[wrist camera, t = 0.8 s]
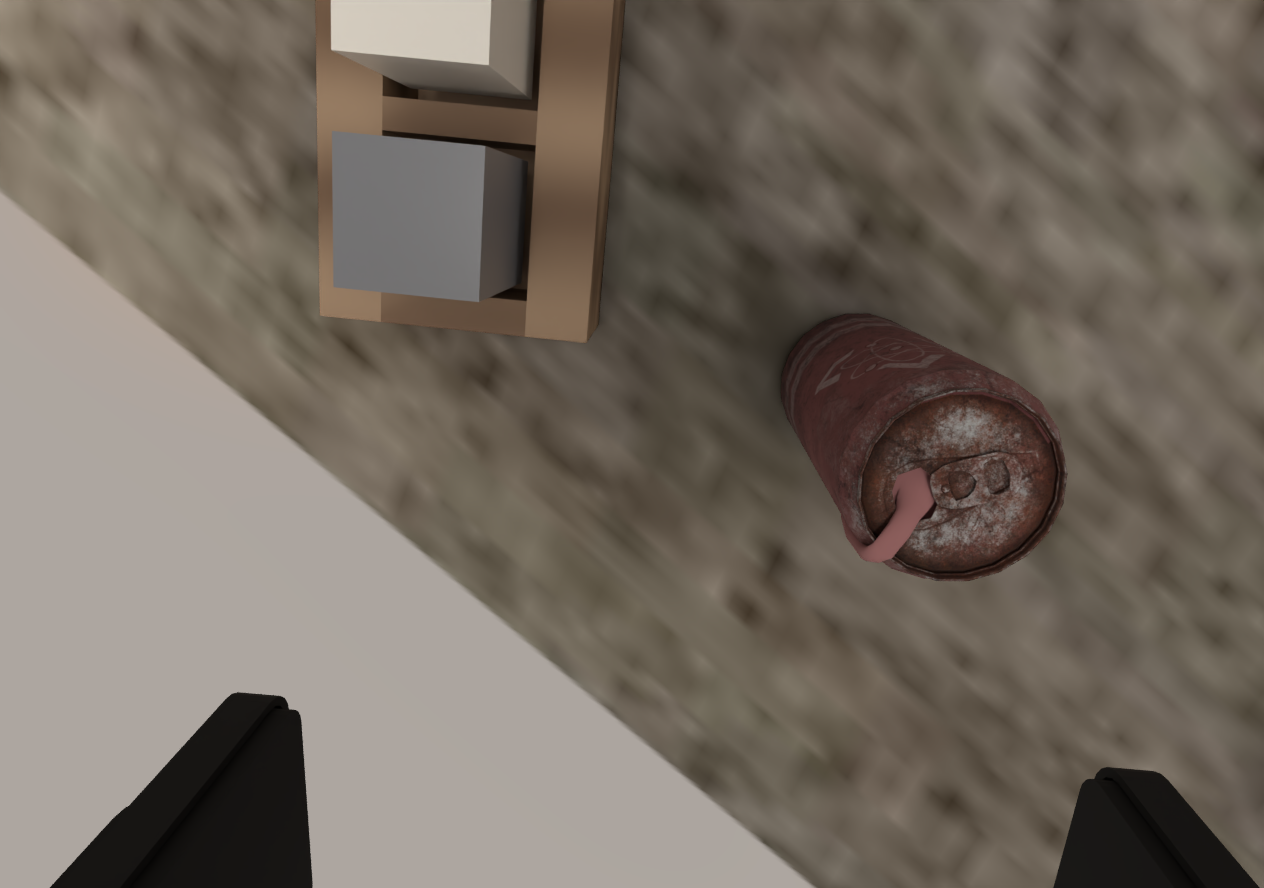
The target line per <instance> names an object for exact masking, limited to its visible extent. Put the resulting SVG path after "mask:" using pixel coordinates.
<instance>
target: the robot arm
mask: <svg viewBox="0 0 1264 888" xmlns="http://www.w3.org/2000/svg"><path fill="white" fill-rule="evenodd" d="M304 769H305V768H304V754H303V740H302V725H301V717H300V714H299V712H298V711H296V710H289V708H288V703H287V701H286V699H285V698H283V697H281V696H274V695H262V694H249V693H238V692H237V693H234V694H231V695H230V696H229V697H228V698H227V699H225V701H224V702H223V703H222V704H221V705H220V706H219V707H218V708H217V710H216V711H215V712H214V713H213V714H212V715H211V716H210V717H209V718H208V719H207V721H206V722H205V723H204V724H203V725H202V726H201V727H200V728H199V729H198V730H197V731H196V733H195V734H194V735H193V736H192V737H191V738H190V740H188V741H187V742H186V744H185V745H184V746H183V747H182V748H181V749H180V750H179V751H178V752H177V753H176V755H175V756H174V757H173V758H172V759H171V760H170V761H169V762H168V764H167V765H166V766H165V767H164V768H163V769H162V770H161V771H160V772H159V773H158V775H157V776H156V777H155V778H154V779H153V780H152V781H151V782H150V783H149V784H148V785H147V787H146V788H145V789H144V790H143V791H142V792H141V793H140V794H139V795H138V796H137V798H136V799H135V800H134V801H133V802H132V803H131V804H130V805H129V806H128V807H126V808H125V809H123V810H122V811H121V812H120V813H119V814H118V815H116V816H115V818H113V819H112V820H111V821H110V823H109V824H108V825H107V826H106V827H105V828H104V829H103V830H102V831H101V832H100V833H99V835H98V836H97V837H96V838H95V839H94V840H93V841H92V842H91V843H90V845H88V847H87V848H86V849H85V850H84V851H83V852H82V853H81V854H80V855H79V856H78V857H77V859H76V860H75V861H74V862H73V863H72V864H71V865H70V866H69V867H68V868H67V870H66V871H65V872H64V873H63V874H62V875H61V876H60V877H59V878H58V879H57V880H56V882H55V883H54V884H53V885H52V886H51V887H50V888H312V870H311V854H310V840H309V826H308V811H307V797H306V784H305V770H304ZM1054 888H1259V887H1258V885H1257V884H1256V883H1255V882H1254V881H1253V879H1252V878H1251V877H1250V876H1249V875H1248V874H1247V872H1246V871H1245V870H1244V869H1243V868H1242V867H1241V865H1240V864H1239V863H1238V862H1237V861H1236V860H1235V858H1234V857H1233V856H1232V855H1231V854H1230V852H1229V851H1228V850H1227V849H1226V848H1225V847H1224V845H1223V844H1222V843H1221V842H1220V841H1219V840H1218V838H1217V837H1216V836H1215V835H1214V834H1213V833H1212V831H1211V830H1210V829H1209V828H1208V827H1207V825H1206V824H1205V823H1204V822H1203V821H1202V820H1201V818H1200V817H1199V816H1198V815H1197V814H1196V813H1195V811H1194V810H1193V809H1192V808H1191V807H1190V805H1189V804H1188V803H1187V802H1186V801H1185V800H1184V798H1183V797H1182V796H1181V795H1180V794H1179V793H1178V791H1177V790H1176V789H1175V788H1174V787H1173V786H1172V784H1171V783H1170V782H1169V781H1168V780H1167V779H1166V778H1165V777H1164V776H1163V775H1162V774H1160V773H1157V772H1154V771H1145V770H1134V769H1122V768H1110V767H1106V768H1102V769H1101V770H1100V771H1099V772H1098V773H1097V774H1096V776H1095V779H1087V780H1086V781H1085V782H1084V783H1083V784H1082V786H1081V789H1080V792H1079V796H1078V799H1077V803H1076V807H1075V811H1074V814H1073V818H1072V822H1071V825H1070V829H1069V833H1068V836H1067V840H1066V844H1065V847H1064V851H1063V855H1062V858H1061V862H1060V866H1059V869H1058V873H1057V877H1056V880H1055V884H1054Z"/></svg>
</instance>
